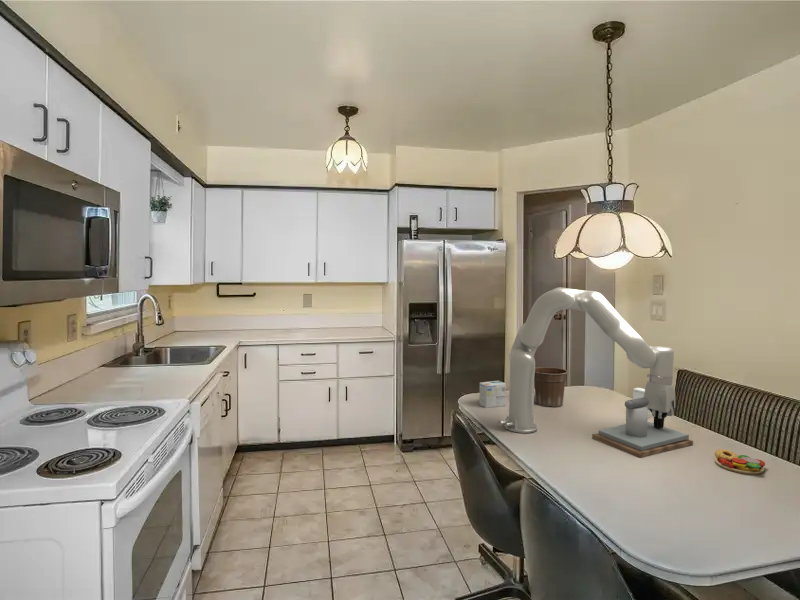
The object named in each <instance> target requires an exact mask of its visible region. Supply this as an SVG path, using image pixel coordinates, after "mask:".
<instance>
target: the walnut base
mask: <svg viewBox="0 0 800 600" xmlns="http://www.w3.org/2000/svg"><path fill="white" fill-rule="evenodd" d="M591 436H592V438H591V439H593V440H595V441H598V442H600V441H601V443H603V444H606V445H607V446H610V447H613V448H615V449H618V450H620V451H623V452H625V453H628V454H630V455H632V456H635V457H637V458H645V457H649V456H652V455H656V454H661V453H665V452H669V451H674V450H676V449H681V448H686V447H691V446H693V445H694V440H692V439H690V438H689V439H686V440H682V441H678V442H674V443H670V444H667V445H663V446H659V447H655V448H651V449H647V450H644V451H640V450H638V449H635V448H632V447H630V446H627V445H625V444H622V443H620V442H617V441H615V440H612V439H609V438H607V437H604V436H602V435H599V434H598V432H597V433H593V434H592V435H591Z"/></svg>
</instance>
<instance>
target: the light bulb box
mask: <svg viewBox="0 0 800 600" xmlns="http://www.w3.org/2000/svg"><path fill="white" fill-rule="evenodd" d="M506 386H507V384H506V382H503V381H500V380H493V381H492V380H491V381H483V382H481V381H480V382H479V405H480V406H482V407H484V408H485V409H490V408H498V407H505V406H506V403H507V402H506V401H507V400H506V398H507V395H506V392H507V390H506V389H507V387H506Z"/></svg>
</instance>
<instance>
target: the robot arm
mask: <svg viewBox="0 0 800 600" xmlns="http://www.w3.org/2000/svg"><path fill="white" fill-rule="evenodd" d="M561 310H562V311H563V310H570V311H579V312H586V314H587V315H589V316H590V318H591V319H592V320H593V321H594V322H595V323H596V325H597V326H599V328H600V330H602V331H603V333H604V334H605V335H606V336H607V337H609V339H611V340H612V341H614V342H615V343H616V344H617V345H619V347H620V348H621V349H622V350H624V352H625V353H626V354H625V355H626V357H627V360H629V362H631V363H632V364H634V365H636V366H637V367H639V368H641V369H649V373H647V375H646V376H647V378H648V380H647V382H646V384H645V388H644V389H645V392H644V397H645V398H647V399H648V400H649V404H648V405H646V407H647V408H648V410H649V411H650V414H652V415H651V416H652V417H653V423H654V428H657V429H660V428H663V427H665V426H664V425H665V419H666V417H673V416H674V415H675V413H674V412H675V409H676V390H675V385H674V384H673V381H674V380H673V379H674V378H673V376H674V375H673V374H674V354H675V353H674V352H675V351H674V349H673V348H671V347H669V346H662V345H661V346H659V345H657V346H651V345H649V344H648V343H647V342H646V341H645V339H644V338H643V337H641V335H640V334H639V333H638V332H637V331H636V330H635V329H634V328H633V327H632V326H631V325H630V324H629V323H628V322H627V321H626V319H624V318H623V316H622V314H620V313H619V312H618V311H617V310H616V308H614V307H613V305H612V304H611V302H610V301H608V299H607V298H606V297H605V296H604V295H603V294H602V293H601V292H598V291H595V290H583V289H576V288H575V289H574V288H568V287H559V286H558V287H555V288H553V289H551V290H549V291H547V292H545V293H543V294H541V295H540V296H539V297H538V298H537V299H536V300H535V302H534V303H533V305H532V307H531V309H530V311H529V313H528V316H527V318H526V321H525V323H523V324H522V325H521V326H520V327H519V328H518V331H517V334H516V336H515V338H514V341H513V343H512V346H511V349H510V351H509V356H508V357H509V359H508V360H509V380H508V381H509V382H508V384H509V387H508V389H509V391H508V394H509V395H508V397H509V399H508V415H506V418H505V419H501V420H499V421H498V425H499V426H504V428H505V429H506V430H507V431H510V432H514V433H519V434H529V433H530V434H531V433H535V432H537V431H538V426H537V424H536V423H534V416H535V415H534V411H535V410H534V408H535V407H534V405H535V402H534V401H535V384H534V376H535V368H536V360H535V354H536V351H537V350H538V347H539V346H541V345H542V344H543V342H544V340H545V338H546V337H545V336H546V333H547V331H548V328H549V326H550V323H551V322H552V319H553V317H554V315H556V313H558V312H559V311H561Z"/></svg>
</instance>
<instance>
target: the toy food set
mask: <svg viewBox="0 0 800 600" xmlns="http://www.w3.org/2000/svg"><path fill="white" fill-rule="evenodd" d="M714 462H715V463H716V464H717V465H718V466H719V467H721V468H723V469H725V470H728V471H730V472H734V473H738V474H743V475H759V474H761V473H763V472H764V471H765V466H766V462H765V461H764V460H761V459H757V458H751V456H749V455H745V454H740V455H738V454H736V453H735V452H733V451H732V450H729V449H726V448H725V449H723V448H718V449H715V451H714Z"/></svg>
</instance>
